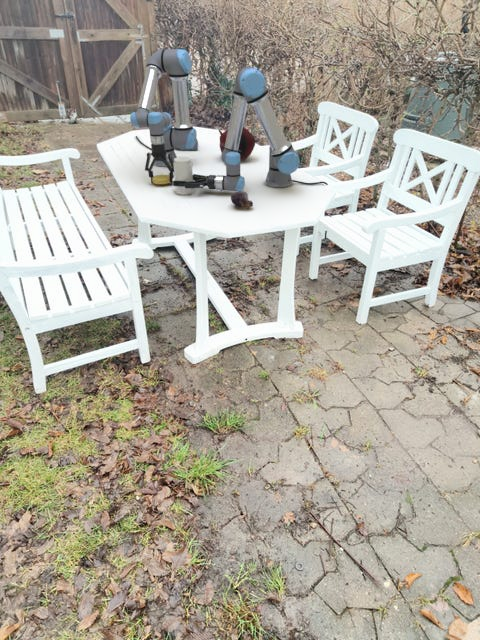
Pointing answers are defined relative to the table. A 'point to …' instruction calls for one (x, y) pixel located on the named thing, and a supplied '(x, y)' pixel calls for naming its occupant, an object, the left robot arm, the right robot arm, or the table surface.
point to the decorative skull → (245, 143)
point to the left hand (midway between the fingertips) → (162, 183)
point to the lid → (161, 179)
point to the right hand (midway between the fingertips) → (176, 180)
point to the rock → (241, 200)
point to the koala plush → (191, 148)
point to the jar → (183, 174)
